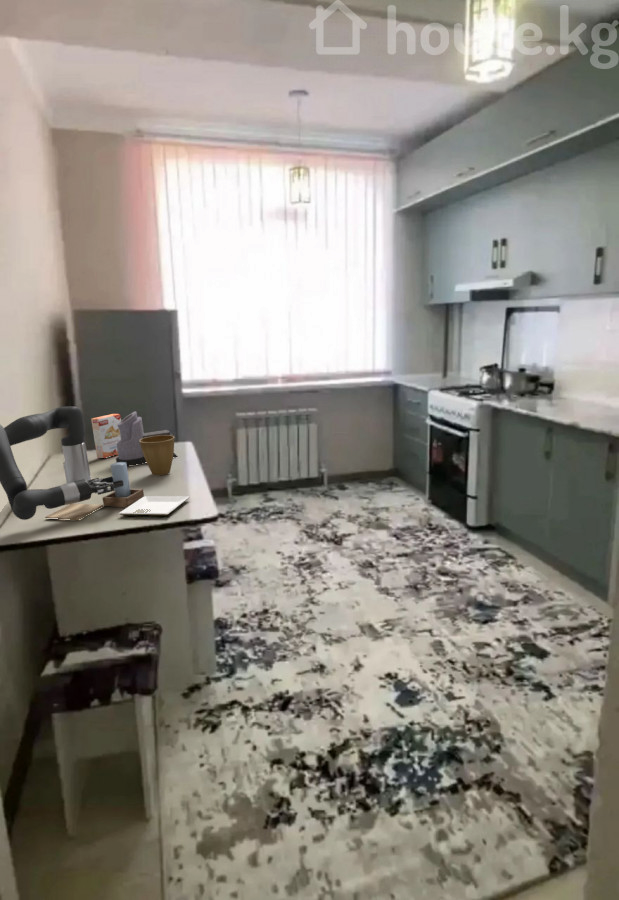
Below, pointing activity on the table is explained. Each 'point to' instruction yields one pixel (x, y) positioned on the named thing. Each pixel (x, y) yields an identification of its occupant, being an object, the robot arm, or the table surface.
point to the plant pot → (158, 453)
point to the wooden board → (74, 511)
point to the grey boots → (133, 440)
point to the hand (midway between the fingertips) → (118, 480)
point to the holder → (121, 501)
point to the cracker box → (106, 434)
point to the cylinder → (121, 474)
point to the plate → (155, 505)
